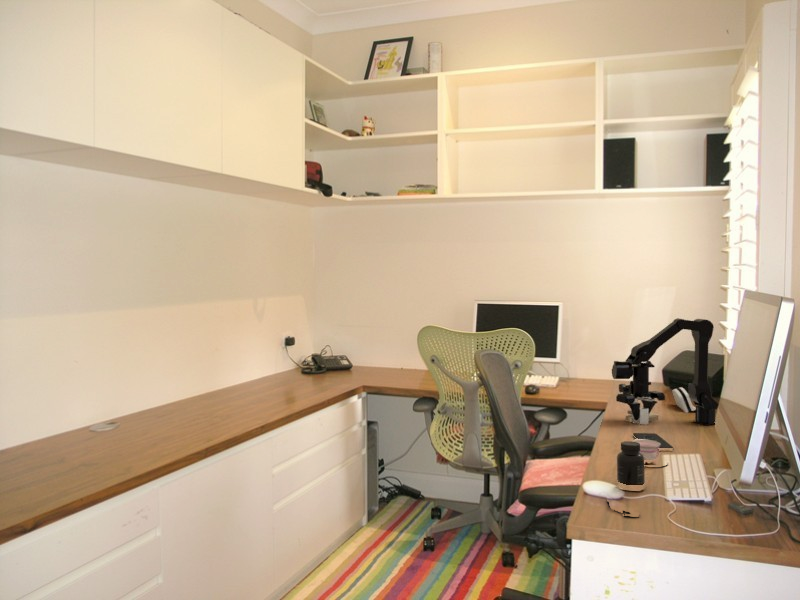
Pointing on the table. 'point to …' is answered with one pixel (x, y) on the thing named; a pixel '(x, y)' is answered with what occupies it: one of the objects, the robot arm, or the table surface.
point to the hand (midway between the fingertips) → (640, 419)
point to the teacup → (648, 448)
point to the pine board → (651, 417)
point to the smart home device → (653, 437)
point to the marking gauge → (641, 416)
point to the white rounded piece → (683, 400)
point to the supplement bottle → (630, 464)
